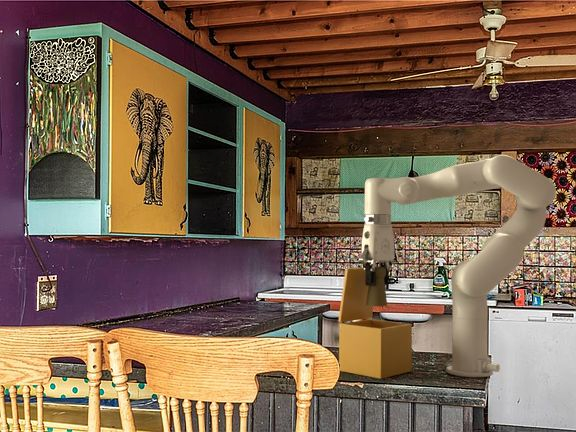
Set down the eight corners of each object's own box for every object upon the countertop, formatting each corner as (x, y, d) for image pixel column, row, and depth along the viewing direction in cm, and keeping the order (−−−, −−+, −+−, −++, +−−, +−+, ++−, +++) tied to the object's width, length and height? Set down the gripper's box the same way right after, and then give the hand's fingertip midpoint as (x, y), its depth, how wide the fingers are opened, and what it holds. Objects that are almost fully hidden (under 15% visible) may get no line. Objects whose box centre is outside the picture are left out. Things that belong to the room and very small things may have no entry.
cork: (384, 306, 191) (385, 267, 191) (363, 305, 193) (363, 266, 193) (389, 304, 196) (389, 266, 196) (368, 303, 198) (369, 265, 199)
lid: (379, 267, 202) (365, 263, 206) (347, 268, 192) (334, 265, 195) (371, 318, 204) (358, 313, 207) (340, 322, 193) (327, 317, 197)
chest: (411, 371, 194) (412, 324, 194) (380, 378, 183) (381, 329, 183) (370, 363, 204) (370, 319, 204) (338, 370, 193) (339, 323, 194)
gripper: (369, 220, 186) (368, 287, 186) (406, 222, 198) (405, 284, 198) (348, 220, 192) (347, 285, 191) (384, 222, 204) (384, 283, 203)
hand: (377, 284), depth 195 cm, fingers closed on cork, 5 cm apart
